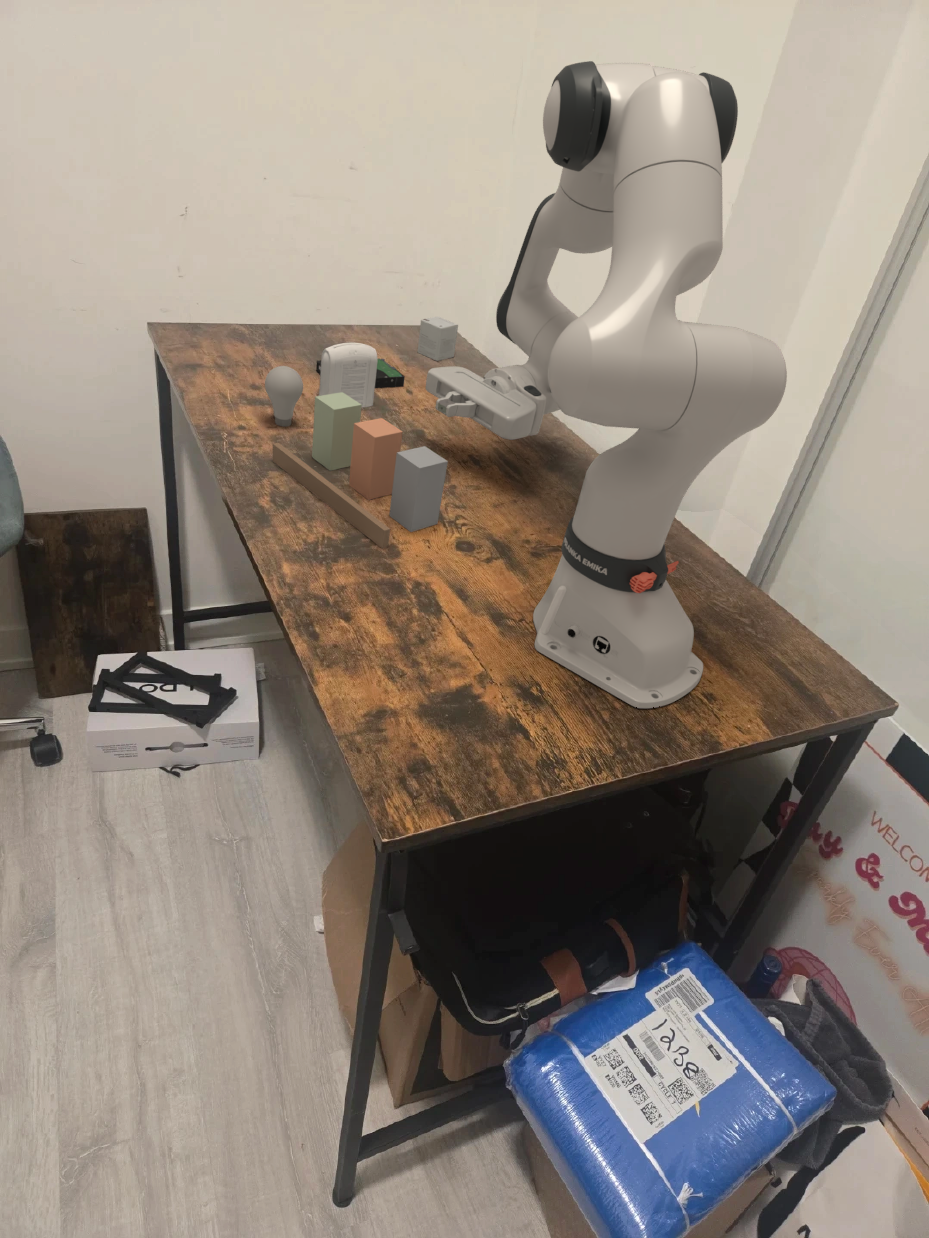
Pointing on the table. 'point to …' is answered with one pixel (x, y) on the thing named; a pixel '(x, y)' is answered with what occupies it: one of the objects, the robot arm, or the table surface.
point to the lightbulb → (283, 392)
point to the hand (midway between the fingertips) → (441, 408)
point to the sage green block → (334, 429)
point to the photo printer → (349, 371)
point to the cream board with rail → (332, 496)
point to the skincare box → (437, 338)
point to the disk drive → (382, 375)
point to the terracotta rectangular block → (374, 457)
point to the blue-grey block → (417, 488)
